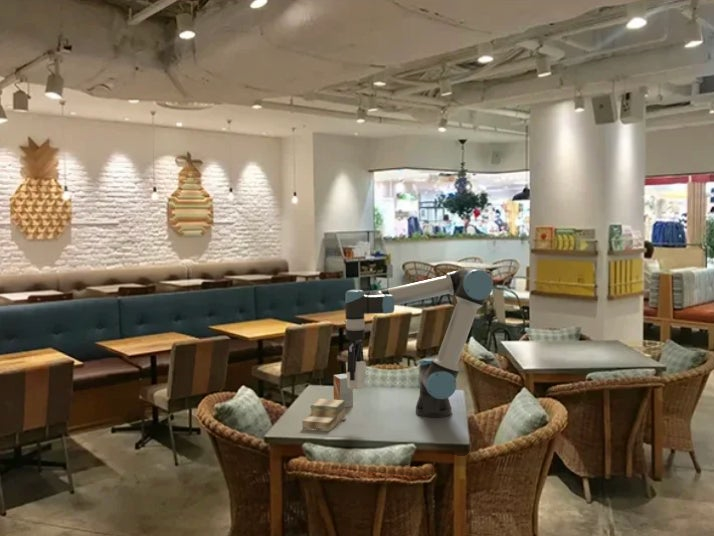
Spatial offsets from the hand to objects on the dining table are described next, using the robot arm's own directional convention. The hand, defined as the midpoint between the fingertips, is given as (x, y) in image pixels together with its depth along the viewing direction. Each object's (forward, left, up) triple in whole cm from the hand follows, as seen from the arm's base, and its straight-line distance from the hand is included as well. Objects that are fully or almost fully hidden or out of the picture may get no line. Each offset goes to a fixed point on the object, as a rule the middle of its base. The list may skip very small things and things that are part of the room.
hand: (356, 385), depth 260 cm
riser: (+14, +1, -16) cm, 21 cm away
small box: (+14, -26, -16) cm, 34 cm away
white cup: (0, 0, -1) cm, 1 cm away
